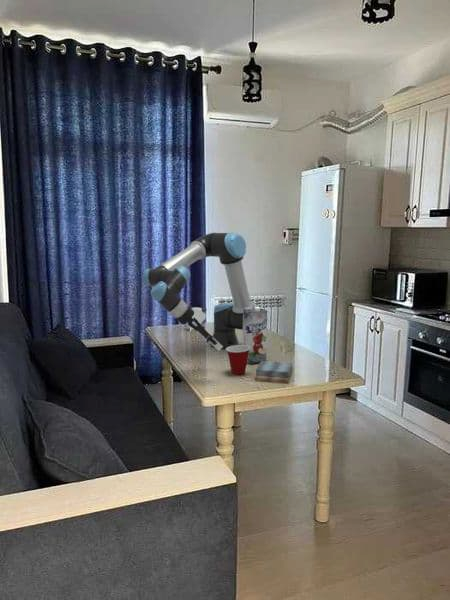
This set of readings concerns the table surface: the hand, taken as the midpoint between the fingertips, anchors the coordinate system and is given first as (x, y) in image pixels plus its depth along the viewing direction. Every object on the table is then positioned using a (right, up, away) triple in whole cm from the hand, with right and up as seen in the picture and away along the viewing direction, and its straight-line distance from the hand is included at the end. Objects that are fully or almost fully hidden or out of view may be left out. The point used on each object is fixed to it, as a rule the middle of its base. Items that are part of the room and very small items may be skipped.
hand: (216, 344), depth 199 cm
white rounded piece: (-14, 0, +88) cm, 89 cm away
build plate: (+25, -14, +3) cm, 29 cm away
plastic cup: (+9, -13, +5) cm, 17 cm away
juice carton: (+18, -11, +23) cm, 31 cm away
